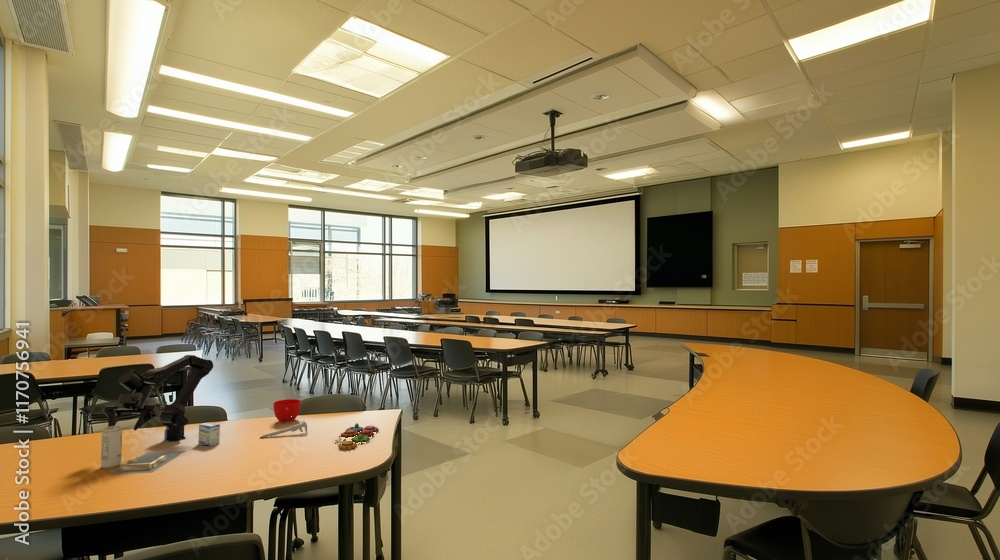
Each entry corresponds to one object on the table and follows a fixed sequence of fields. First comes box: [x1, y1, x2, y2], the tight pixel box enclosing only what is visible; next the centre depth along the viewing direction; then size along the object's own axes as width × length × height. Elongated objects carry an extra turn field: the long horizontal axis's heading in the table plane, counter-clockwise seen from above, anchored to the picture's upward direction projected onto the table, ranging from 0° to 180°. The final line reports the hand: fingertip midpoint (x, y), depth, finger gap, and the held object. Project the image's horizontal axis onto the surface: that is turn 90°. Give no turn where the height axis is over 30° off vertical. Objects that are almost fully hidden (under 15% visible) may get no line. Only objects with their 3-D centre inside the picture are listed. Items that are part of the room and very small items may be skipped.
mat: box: [107, 450, 187, 476], centre depth 182 cm, size 24×15×1 cm, turn 9°
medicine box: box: [198, 422, 221, 447], centre depth 204 cm, size 8×4×9 cm, turn 68°
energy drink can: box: [100, 425, 123, 470], centre depth 177 cm, size 6×6×15 cm
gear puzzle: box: [334, 423, 380, 450], centre depth 211 cm, size 31×16×4 cm, turn 0°
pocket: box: [119, 455, 166, 471], centre depth 178 cm, size 9×11×2 cm
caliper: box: [260, 420, 308, 438], centre depth 217 cm, size 20×1×6 cm, turn 115°
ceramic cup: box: [272, 398, 302, 423], centre depth 239 cm, size 13×17×10 cm
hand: (121, 430), depth 183 cm, fingers open, 9 cm apart
